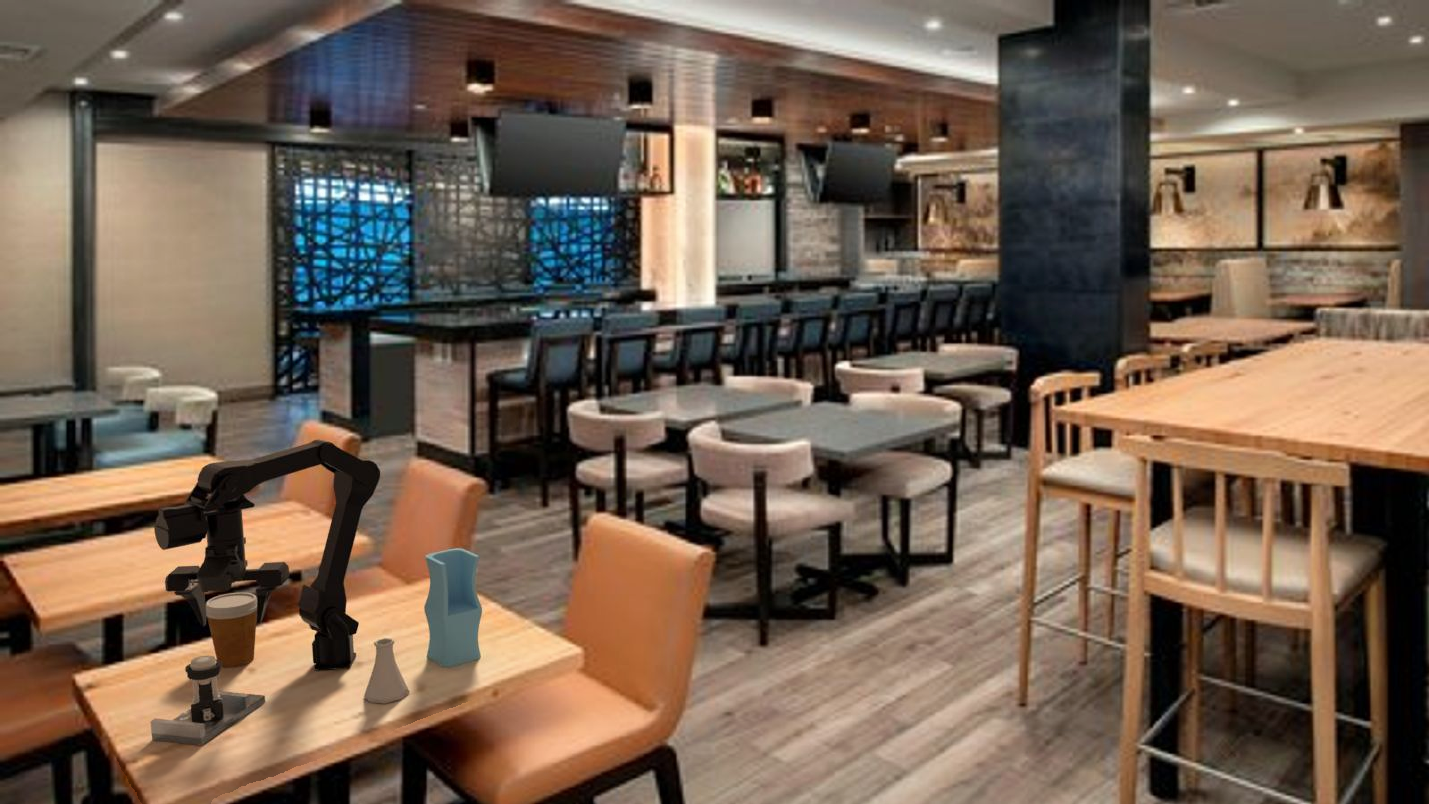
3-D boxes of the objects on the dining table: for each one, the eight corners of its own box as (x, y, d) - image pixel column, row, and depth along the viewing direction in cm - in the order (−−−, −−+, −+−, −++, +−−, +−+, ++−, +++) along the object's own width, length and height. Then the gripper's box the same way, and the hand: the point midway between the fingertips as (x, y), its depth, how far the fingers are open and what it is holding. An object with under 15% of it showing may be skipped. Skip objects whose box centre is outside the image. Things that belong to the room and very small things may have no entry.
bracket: (219, 697, 181) (218, 680, 180) (265, 702, 179) (264, 684, 179) (152, 740, 165) (150, 721, 165) (201, 745, 164) (200, 726, 163)
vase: (445, 668, 193) (441, 564, 190) (426, 656, 199) (421, 555, 196) (483, 657, 198) (480, 556, 195) (463, 645, 204) (459, 547, 201)
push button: (180, 729, 166) (175, 670, 165) (180, 716, 171) (175, 658, 170) (226, 720, 169) (221, 662, 168) (224, 707, 174) (220, 651, 173)
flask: (384, 708, 177) (381, 652, 175) (356, 698, 180) (353, 643, 179) (417, 693, 183) (414, 638, 181) (389, 683, 186) (386, 630, 185)
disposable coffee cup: (209, 655, 199) (204, 595, 198) (263, 648, 203) (259, 589, 201) (206, 674, 191) (201, 611, 189) (263, 666, 194) (258, 604, 193)
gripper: (148, 552, 168) (156, 644, 171) (269, 548, 171) (275, 638, 173) (174, 534, 179) (181, 620, 182) (287, 529, 182) (292, 615, 184)
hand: (231, 624), depth 180 cm, fingers open, 9 cm apart
